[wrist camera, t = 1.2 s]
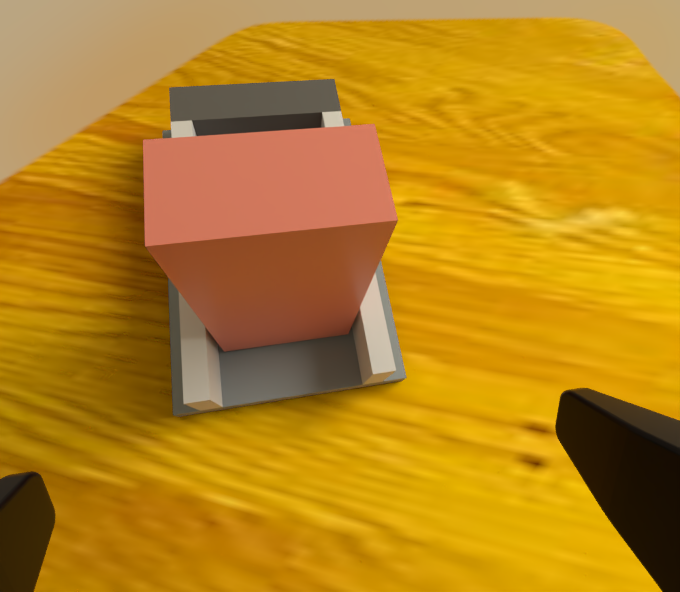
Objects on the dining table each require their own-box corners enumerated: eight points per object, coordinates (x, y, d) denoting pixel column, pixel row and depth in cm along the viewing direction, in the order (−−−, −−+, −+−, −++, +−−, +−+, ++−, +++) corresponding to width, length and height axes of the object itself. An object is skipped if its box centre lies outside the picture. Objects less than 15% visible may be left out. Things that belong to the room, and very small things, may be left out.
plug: (348, 334, 21) (397, 220, 10) (224, 351, 20) (144, 246, 10) (338, 278, 22) (374, 124, 11) (219, 292, 21) (143, 140, 11)
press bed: (401, 380, 21) (424, 365, 18) (178, 416, 20) (149, 408, 16) (347, 130, 27) (356, 75, 23) (167, 142, 25) (143, 85, 21)
